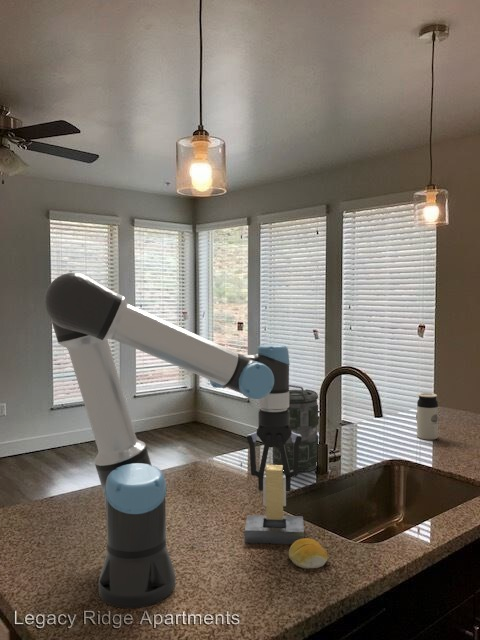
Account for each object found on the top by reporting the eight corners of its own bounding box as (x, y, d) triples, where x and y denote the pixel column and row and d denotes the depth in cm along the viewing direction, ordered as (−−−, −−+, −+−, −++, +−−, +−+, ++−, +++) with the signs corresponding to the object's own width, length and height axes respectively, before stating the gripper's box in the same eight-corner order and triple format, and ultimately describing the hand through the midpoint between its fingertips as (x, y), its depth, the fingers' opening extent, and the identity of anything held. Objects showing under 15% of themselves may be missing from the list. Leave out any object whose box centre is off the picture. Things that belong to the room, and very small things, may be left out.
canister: (263, 465, 184) (262, 385, 183) (294, 456, 195) (293, 380, 194) (296, 476, 172) (296, 391, 171) (328, 466, 183) (327, 385, 182)
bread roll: (317, 548, 123) (317, 531, 123) (332, 567, 114) (332, 549, 114) (283, 552, 122) (283, 535, 121) (295, 571, 113) (295, 553, 113)
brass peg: (283, 519, 127) (282, 470, 127) (266, 519, 128) (265, 470, 127) (283, 513, 131) (282, 465, 131) (266, 512, 132) (266, 464, 131)
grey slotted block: (304, 544, 125) (304, 532, 125) (244, 542, 126) (244, 530, 126) (302, 528, 134) (302, 516, 134) (247, 526, 135) (247, 514, 135)
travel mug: (413, 436, 222) (413, 393, 221) (429, 434, 224) (429, 392, 224) (425, 440, 215) (425, 396, 214) (441, 439, 217) (442, 395, 216)
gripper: (308, 405, 132) (309, 498, 132) (240, 405, 133) (241, 497, 134) (310, 412, 124) (310, 510, 125) (237, 411, 126) (238, 508, 126)
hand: (274, 503), depth 129 cm, fingers closed on brass peg, 4 cm apart
